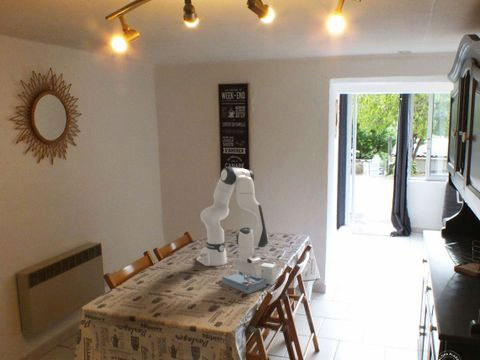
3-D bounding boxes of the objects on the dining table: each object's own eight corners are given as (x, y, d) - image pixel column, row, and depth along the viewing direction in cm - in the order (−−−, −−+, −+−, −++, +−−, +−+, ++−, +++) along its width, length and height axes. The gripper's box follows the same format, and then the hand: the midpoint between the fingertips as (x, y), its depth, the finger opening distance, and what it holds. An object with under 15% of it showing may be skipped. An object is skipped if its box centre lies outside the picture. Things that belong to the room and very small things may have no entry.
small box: (276, 281, 247) (276, 264, 245) (272, 285, 242) (272, 267, 241) (264, 279, 251) (264, 262, 250) (260, 282, 246) (260, 265, 245)
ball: (246, 287, 240) (245, 281, 239) (250, 285, 242) (249, 280, 241) (249, 288, 237) (249, 283, 237) (253, 287, 239) (253, 281, 239)
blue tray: (222, 282, 247) (222, 275, 246) (240, 276, 256) (239, 269, 255) (248, 293, 231) (248, 286, 230) (266, 286, 240) (265, 279, 239)
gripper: (230, 253, 244) (230, 276, 246) (254, 262, 229) (255, 286, 231) (238, 251, 249) (238, 273, 251) (262, 259, 234) (263, 283, 236)
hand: (246, 279), depth 241 cm, fingers closed
